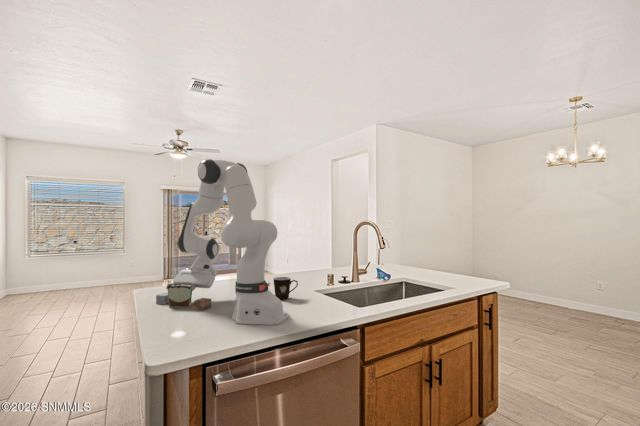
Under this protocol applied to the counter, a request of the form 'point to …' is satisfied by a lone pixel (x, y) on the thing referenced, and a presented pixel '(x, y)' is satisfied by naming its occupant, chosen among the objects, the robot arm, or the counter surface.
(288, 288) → the coffee mug
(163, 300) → the slate block
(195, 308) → the walnut block
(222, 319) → the counter surface
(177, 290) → the food container
